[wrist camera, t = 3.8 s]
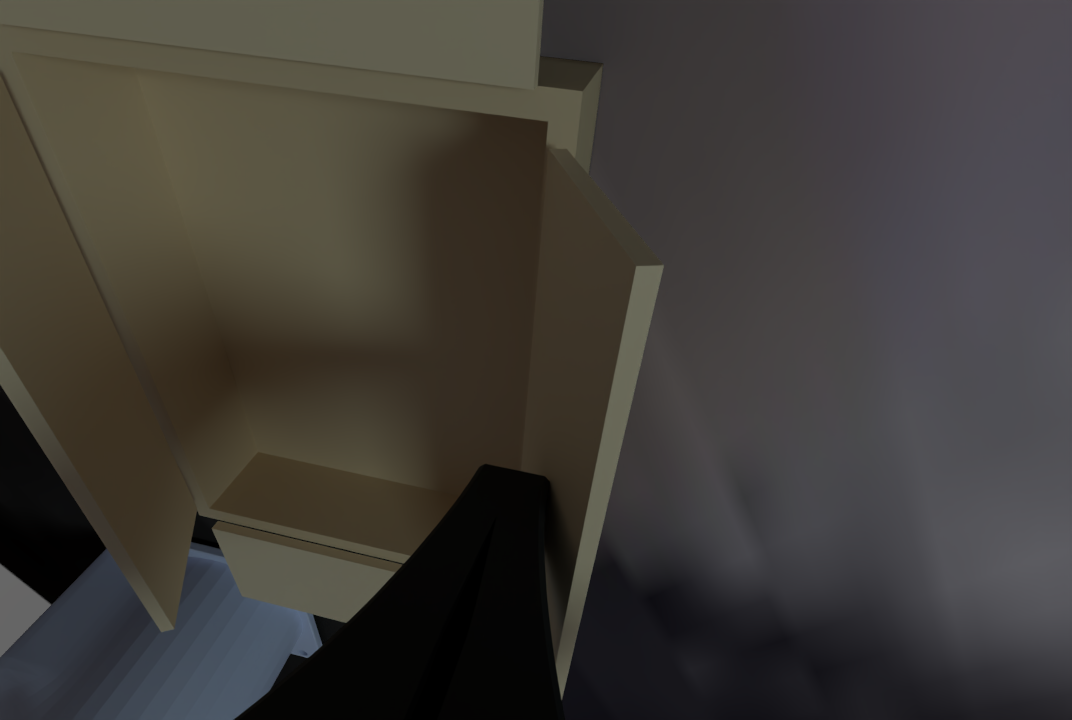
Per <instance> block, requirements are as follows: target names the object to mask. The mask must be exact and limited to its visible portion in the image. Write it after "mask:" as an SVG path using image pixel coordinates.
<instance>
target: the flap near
mask: <svg viewBox="0 0 1072 720" xmlns="http://www.w3.org/2000/svg"><path fill="white" fill-rule="evenodd" d="M663 267H664V265H663V264H662V262H661V261H660V260H659V259H658V258H657V256H656V255H655V254H654V253H653V252H652V250H651V249H650V248H649V247H648V246H647V244H646V243H645V242H644V241H643V240H642V238H641V237H640V236H639V235H638V234H637V232H636V231H635V230H634V229H633V228H632V226H631V225H630V224H629V223H628V222H627V220H626V219H625V218H624V217H623V216H622V214H621V213H620V212H619V211H618V210H617V208H616V207H615V206H614V205H613V204H612V202H611V201H610V200H609V199H608V198H607V196H606V195H605V194H604V193H603V192H602V190H601V189H600V188H599V187H598V186H597V184H596V183H595V182H594V181H593V180H592V178H591V177H590V176H589V175H588V174H587V172H586V171H585V170H584V169H583V168H582V166H581V165H580V164H579V163H578V162H577V160H576V159H575V158H574V157H573V156H572V154H571V153H570V152H569V151H568V150H567V149H549V150H548V161H547V173H546V185H545V196H544V208H543V220H542V231H541V243H540V255H539V266H538V278H537V290H536V302H535V313H534V325H533V337H532V348H531V360H530V372H529V383H528V395H527V407H526V419H525V430H524V442H523V454H522V465H521V471H523V472H528V473H532V474H537V475H542V476H545V477H546V478H547V479H548V480H549V481H550V486H549V493H548V501H547V508H546V516H545V524H544V553H545V572H546V587H547V600H548V610H549V619H550V627H551V635H552V643H553V650H554V657H555V664H556V671H557V677H558V683H559V688H560V694H561V700H562V696H563V692H564V688H565V684H566V679H567V675H568V671H569V667H570V662H571V658H572V654H573V650H574V645H575V641H576V637H577V633H578V628H579V624H580V620H581V616H582V611H583V607H584V603H585V599H586V594H587V590H588V586H589V582H590V577H591V573H592V569H593V565H594V560H595V556H596V552H597V548H598V543H599V539H600V535H601V531H602V526H603V522H604V518H605V514H606V509H607V505H608V501H609V497H610V492H611V488H612V484H613V480H614V475H615V471H616V467H617V463H618V458H619V454H620V450H621V446H622V441H623V437H624V433H625V428H626V424H627V420H628V416H629V411H630V407H631V403H632V399H633V394H634V390H635V386H636V382H637V377H638V373H639V369H640V365H641V360H642V356H643V352H644V348H645V343H646V339H647V335H648V331H649V326H650V322H651V318H652V314H653V309H654V305H655V301H656V297H657V292H658V288H659V284H660V280H661V275H662V271H663Z"/></svg>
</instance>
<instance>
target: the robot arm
mask: <svg viewBox="0 0 1072 720" xmlns="http://www.w3.org/2000/svg"><path fill="white" fill-rule="evenodd" d="M549 486H550V481H549V480H548V479H547V478H546V477H545V476H542V475H537V474H532V473H528V472H523V471H518V470H513V469H508V468H504V467H499V466H494V465H489V464H484V465H482V466H480V467H479V468H478V470H477V471H476V473H475V474H474V476H473V477H472V479H471V480H470V482H469V483H468V485H467V486H466V488H465V489H464V490H463V492H462V493H461V495H460V496H459V497H458V499H457V500H456V501H455V503H454V504H453V505H452V507H451V508H450V509H449V510H448V512H447V513H446V514H445V516H444V517H443V518H442V519H441V521H440V522H439V523H438V524H437V526H436V527H435V528H434V529H433V530H432V531H431V533H430V534H429V535H428V536H427V537H426V539H425V540H424V541H423V542H422V543H421V545H420V546H419V547H418V548H417V549H416V551H415V552H414V553H413V554H412V555H411V556H410V557H409V559H408V560H407V561H406V562H405V563H404V564H403V565H402V566H401V567H400V568H399V569H398V570H397V572H396V573H395V574H394V575H393V576H392V577H391V578H390V579H389V580H388V581H387V582H386V583H385V584H384V585H383V587H382V588H381V589H380V590H379V591H378V592H377V593H376V594H375V595H374V596H373V597H372V598H371V599H370V600H369V601H368V602H367V603H366V604H365V605H364V606H363V607H362V608H361V609H360V610H359V611H358V612H357V613H356V614H355V615H354V616H353V617H352V618H351V619H350V620H349V621H348V622H347V623H346V624H345V625H344V626H343V627H342V628H340V629H339V630H338V631H337V632H336V633H335V634H334V635H333V636H332V637H331V638H330V639H329V640H328V641H327V642H325V643H324V644H323V645H322V642H321V639H320V636H319V633H318V630H317V626H316V623H315V620H314V617H313V614H310V613H306V612H302V611H298V610H294V609H290V608H286V607H282V606H278V605H274V604H271V603H267V602H263V601H259V600H255V599H251V598H247V597H243V596H242V595H241V593H240V591H239V589H238V586H237V584H236V582H235V580H234V577H233V575H232V573H231V571H230V568H229V566H228V564H227V562H226V559H225V557H224V555H223V553H222V550H221V549H219V548H215V547H211V546H206V545H202V544H198V543H194V542H191V544H190V549H189V555H188V560H187V565H186V570H185V576H184V581H183V586H182V592H181V597H180V602H179V608H178V613H177V618H176V623H175V629H173V630H169V631H164V632H161V631H160V630H159V628H158V627H157V625H156V623H155V622H154V620H153V619H152V617H151V616H150V614H149V613H148V611H147V610H146V608H145V607H144V605H143V603H142V602H141V600H140V599H139V597H138V596H137V594H136V593H135V591H134V590H133V588H132V586H131V585H130V583H129V582H128V580H127V579H126V577H125V576H124V574H123V573H122V571H121V570H120V568H119V566H118V565H117V563H116V562H115V560H114V559H113V557H112V556H111V554H110V553H109V551H108V550H107V549H106V550H105V551H104V552H103V553H102V554H101V555H100V556H99V557H98V558H97V559H96V560H95V561H94V562H93V563H92V564H91V565H90V566H89V567H88V568H87V569H86V570H85V571H84V572H83V573H82V574H81V575H80V576H79V577H78V578H77V579H76V580H75V581H74V582H73V583H72V584H71V585H70V587H69V588H68V589H67V590H66V591H65V592H64V593H63V594H62V595H61V596H60V597H59V598H58V599H57V600H56V601H55V602H54V603H53V604H52V605H51V606H50V607H49V608H48V609H47V610H46V611H45V612H44V613H43V614H42V615H41V616H40V617H39V618H38V619H37V620H36V621H35V622H34V623H33V624H32V625H31V627H29V629H28V630H27V631H26V632H25V633H24V634H23V635H22V636H21V637H20V638H19V639H18V640H17V641H16V642H15V643H14V644H13V645H12V646H11V647H10V648H9V649H8V650H7V651H6V652H5V653H4V654H3V655H2V656H1V657H0V720H565V716H564V711H563V705H562V700H561V694H560V688H559V683H558V677H557V671H556V664H555V657H554V650H553V643H552V635H551V627H550V619H549V610H548V600H547V587H546V572H545V553H544V524H545V516H546V508H547V501H548V493H549ZM290 653H291V654H295V655H299V656H303V657H306V658H307V659H306V660H305V661H304V662H303V663H302V664H301V665H299V666H298V667H297V668H296V669H295V670H294V671H293V672H291V673H290V674H289V675H288V676H287V677H286V678H285V679H283V680H282V681H281V682H280V683H279V684H277V685H276V686H275V687H274V688H273V689H271V687H272V685H273V684H274V682H275V680H276V678H277V676H278V675H279V673H280V671H281V669H282V668H283V666H284V664H285V662H286V660H287V659H288V657H289V655H290ZM270 689H271V690H270Z"/></svg>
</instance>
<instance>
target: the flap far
mask: <svg viewBox="0 0 1072 720" xmlns="http://www.w3.org/2000/svg"><path fill="white" fill-rule="evenodd" d="M0 385H1V386H2V388H3V390H4V391H5V393H6V394H7V396H8V397H9V399H10V400H11V402H12V403H13V405H14V406H15V408H16V410H17V411H18V413H19V414H20V416H21V417H22V419H23V420H24V422H25V423H26V425H27V426H28V428H29V430H30V431H31V433H32V434H33V436H34V437H35V439H36V440H37V442H38V443H39V445H40V446H41V448H42V450H43V451H44V453H45V454H46V456H47V457H48V459H49V460H50V462H51V463H52V465H53V466H54V468H55V470H56V471H57V473H58V474H59V476H60V477H61V479H62V480H63V482H64V483H65V485H66V486H67V488H68V490H69V491H70V493H71V494H72V496H73V497H74V499H75V500H76V502H77V503H78V505H79V506H80V508H81V510H82V511H83V513H84V514H85V516H86V517H87V519H88V520H89V522H90V523H91V525H92V526H93V528H94V530H95V531H96V533H97V534H98V536H99V537H100V539H101V540H102V542H103V543H104V545H105V546H106V548H107V550H108V551H109V553H110V554H111V556H112V557H113V559H114V560H115V562H116V563H117V565H118V566H119V568H120V570H121V571H122V573H123V574H124V576H125V577H126V579H127V580H128V582H129V583H130V585H131V586H132V588H133V590H134V591H135V593H136V594H137V596H138V597H139V599H140V600H141V602H142V603H143V605H144V607H145V608H146V610H147V611H148V613H149V614H150V616H151V617H152V619H153V620H154V622H155V623H156V625H157V627H158V628H159V630H160V631H161V632H164V631H169V630H173V629H175V623H176V618H177V613H178V608H179V602H180V597H181V592H182V586H183V581H184V576H185V570H186V565H187V560H188V555H189V549H190V544H191V539H192V533H193V528H194V523H195V518H196V512H197V507H196V505H195V503H194V500H193V498H192V496H191V494H190V492H189V489H188V487H187V485H186V483H185V481H184V478H183V476H182V474H181V472H180V470H179V467H178V465H177V463H176V461H175V459H174V456H173V454H172V452H171V450H170V448H169V445H168V443H167V441H166V439H165V437H164V434H163V432H162V430H161V428H160V426H159V423H158V421H157V419H156V417H155V415H154V412H153V410H152V408H151V406H150V404H149V401H148V399H147V397H146V395H145V393H144V390H143V388H142V386H141V384H140V382H139V379H138V377H137V375H136V373H135V371H134V368H133V366H132V364H131V362H130V360H129V357H128V355H127V353H126V351H125V349H124V346H123V344H122V342H121V340H120V338H119V335H118V333H117V331H116V329H115V327H114V324H113V322H112V320H111V318H110V316H109V313H108V311H107V309H106V307H105V304H104V302H103V300H102V298H101V296H100V293H99V291H98V289H97V287H96V285H95V282H94V280H93V278H92V276H91V274H90V271H89V269H88V267H87V265H86V263H85V260H84V258H83V256H82V254H81V252H80V249H79V247H78V245H77V243H76V241H75V238H74V236H73V234H72V232H71V230H70V227H69V225H68V223H67V221H66V219H65V216H64V214H63V212H62V210H61V208H60V205H59V203H58V201H57V199H56V197H55V194H54V192H53V190H52V188H51V186H50V183H49V181H48V179H47V177H46V175H45V172H44V170H43V168H42V166H41V164H40V161H39V159H38V157H37V155H36V153H35V150H34V148H33V146H32V144H31V142H30V139H29V137H28V135H27V133H26V131H25V128H24V126H23V124H22V122H21V120H20V117H19V115H18V113H17V111H16V109H15V106H14V104H13V102H12V100H11V98H10V95H9V93H8V91H7V89H6V86H5V84H4V82H3V80H2V78H1V75H0Z"/></svg>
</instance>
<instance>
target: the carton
mask: <svg viewBox="0 0 1072 720" xmlns="http://www.w3.org/2000/svg"><path fill="white" fill-rule="evenodd" d="M543 2H544V0H0V75H1V78H2V80H3V82H4V84H5V86H6V89H7V91H8V93H9V95H10V98H11V100H12V102H13V104H14V106H15V109H16V111H17V113H18V115H19V117H20V120H21V122H22V124H23V126H24V128H25V131H26V133H27V135H28V137H29V139H30V142H31V144H32V146H33V148H34V150H35V153H36V155H37V157H38V159H39V161H40V164H41V166H42V168H43V170H44V172H45V175H46V177H47V179H48V181H49V183H50V186H51V188H52V190H53V192H54V194H55V197H56V199H57V201H58V203H59V205H60V208H61V210H62V212H63V214H64V216H65V219H66V221H67V223H68V225H69V227H70V230H71V232H72V234H73V236H74V238H75V241H76V243H77V245H78V247H79V249H80V252H81V254H82V256H83V258H84V260H85V263H86V265H87V267H88V269H89V271H90V274H91V276H92V278H93V280H94V282H95V285H96V287H97V289H98V291H99V293H100V296H101V298H102V300H103V302H104V304H105V307H106V309H107V311H108V313H109V316H110V318H111V320H112V322H113V324H114V327H115V329H116V331H117V333H118V335H119V338H120V340H121V342H122V344H123V346H124V349H125V351H126V353H127V355H128V357H129V360H130V362H131V364H132V366H133V368H134V371H135V373H136V375H137V377H138V379H139V382H140V384H141V386H142V388H143V390H144V393H145V395H146V397H147V399H148V401H149V404H150V406H151V408H152V410H153V412H154V415H155V417H156V419H157V421H158V423H159V426H160V428H161V430H162V432H163V434H164V437H165V439H166V441H167V443H168V445H169V448H170V450H171V452H172V454H173V456H174V459H175V461H176V463H177V465H178V467H179V470H180V472H181V474H182V476H183V478H184V481H185V483H186V485H187V487H188V489H189V492H190V494H191V496H192V498H193V500H194V503H195V505H196V507H197V510H198V513H199V515H201V516H205V517H209V518H214V519H218V520H222V521H226V522H231V523H235V524H239V525H243V526H248V527H252V528H256V529H260V530H264V531H269V532H273V533H277V534H281V535H286V536H290V537H294V538H298V539H302V540H307V541H311V542H315V543H319V544H324V545H328V546H332V547H336V548H340V549H345V550H349V551H353V552H357V553H362V554H366V555H370V556H374V557H379V558H383V559H387V560H391V561H395V562H400V563H405V562H406V561H407V560H408V559H409V557H410V556H411V555H412V554H413V553H414V552H415V551H416V549H417V548H418V547H419V546H420V545H421V543H422V542H423V541H424V540H425V539H426V537H427V536H428V535H429V534H430V533H431V531H432V530H433V529H434V528H435V527H436V526H437V524H438V523H439V522H440V521H441V519H442V518H443V517H444V516H445V514H446V513H447V512H448V510H449V509H450V508H451V507H452V505H453V504H454V503H455V501H456V500H457V499H458V497H459V496H460V495H461V493H462V492H463V490H464V489H465V488H466V486H467V485H468V483H469V482H470V480H471V479H472V477H473V476H474V474H475V473H476V471H477V470H478V468H479V467H480V466H482V465H484V464H489V465H494V466H499V467H504V468H508V469H513V470H518V471H521V465H522V454H523V442H524V430H525V419H526V407H527V395H528V383H529V372H530V360H531V348H532V337H533V325H534V313H535V302H536V290H537V278H538V266H539V255H540V243H541V231H542V220H543V208H544V196H545V185H546V173H547V161H548V150H549V149H567V150H568V151H569V152H570V153H571V154H572V156H573V157H574V158H575V159H576V160H577V162H578V163H579V164H580V165H581V166H582V168H583V169H584V170H585V171H586V172H587V174H588V175H589V169H590V162H591V154H592V146H593V139H594V131H595V123H596V116H597V108H598V101H599V93H600V85H601V78H602V70H603V63H594V62H586V61H577V60H569V59H560V58H551V57H543V56H540V46H541V31H542V17H543ZM212 530H213V532H214V535H215V537H216V539H217V541H218V544H219V546H220V548H221V550H222V553H223V555H224V557H225V559H226V562H227V564H228V566H229V568H230V571H231V573H232V575H233V577H234V580H235V582H236V584H237V586H238V589H239V591H240V593H241V595H242V596H243V597H247V598H251V599H255V600H259V601H263V602H267V603H271V604H274V605H278V606H282V607H286V608H290V609H294V610H298V611H302V612H306V613H310V614H314V615H318V616H322V617H326V618H330V619H334V620H338V621H341V622H345V623H347V622H348V621H349V620H350V619H351V618H352V617H353V616H354V615H355V614H356V613H357V612H358V611H359V610H360V609H361V608H362V607H363V606H364V605H365V604H366V603H367V602H368V601H369V600H370V599H371V598H372V597H373V596H374V595H375V594H376V593H377V592H378V591H379V590H380V589H381V588H382V587H383V585H384V584H385V583H386V582H387V581H388V580H389V579H390V578H391V577H392V576H393V575H394V574H395V573H396V572H397V570H398V569H399V568H400V567H401V566H402V564H397V563H393V562H389V561H385V560H381V559H376V558H372V557H368V556H364V555H359V554H355V553H351V552H347V551H343V550H338V549H334V548H330V547H326V546H321V545H317V544H313V543H309V542H305V541H300V540H296V539H292V538H288V537H283V536H279V535H275V534H271V533H267V532H262V531H258V530H254V529H250V528H245V527H241V526H237V525H233V524H229V523H224V522H220V521H217V523H216V524H215V525H214V526H213V528H212Z"/></svg>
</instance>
